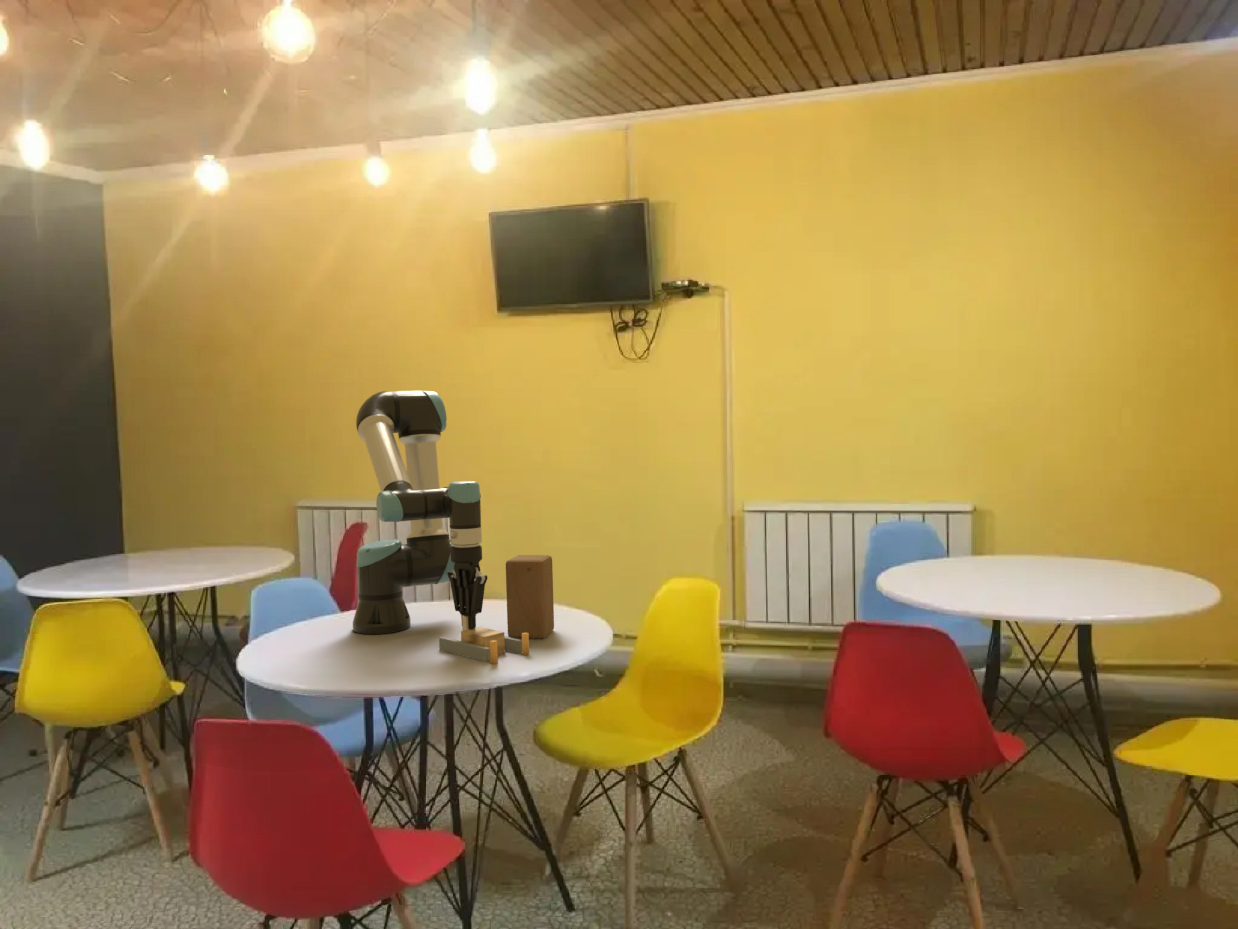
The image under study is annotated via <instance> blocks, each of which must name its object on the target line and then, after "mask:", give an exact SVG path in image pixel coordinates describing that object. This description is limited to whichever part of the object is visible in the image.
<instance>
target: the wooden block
mask: <svg viewBox="0 0 1238 929" xmlns="http://www.w3.org/2000/svg"><path fill="white" fill-rule="evenodd" d="M553 570H554V569H553V557H552V556H551V555H549V554H547V555H545V554H536V555H535V554H517V555H516V556H514V557H512V558H510V559H507V560H506V562H505V584H506V586H505V587H506V617H507V618H506V619H507V622H506V624H507V637H511V638H515V639H522V633H529V639H540V640H541V639H544V638H547V636H548V635H549V634H550V633H552V632H553V631H554V629H555V617H554V616H555V612H554V611H555V609H554V578H553V577H554V575H553V574H554V573H553Z"/></svg>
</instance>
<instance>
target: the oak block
mask: <svg viewBox="0 0 1238 929" xmlns="http://www.w3.org/2000/svg"><path fill="white" fill-rule="evenodd" d="M504 636H505V631H500V630H497V629H496V630H495V629H491V628H486V627H482V626H479V627H476V628H474V629H469V630H465V631H463V630H462V631H460V641H463V642H467V643H471V644H475V645H479V646H484V647H488V648H490V641H494V640H495V641H497V656H498V655H501V654H505V653H506V650H505V638H504Z"/></svg>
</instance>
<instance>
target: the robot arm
mask: <svg viewBox="0 0 1238 929" xmlns="http://www.w3.org/2000/svg"><path fill="white" fill-rule="evenodd" d="M355 425H356V431H357V434H358V436H359V438H360V439H361V441H363V442H364V443H365V446H366V449H367V452H368V454H369V459H370V461H371V465H372V467H373V470H374V474H375V476H376V480H377V483H378V485H379V488H380V492H378V494H377V496H376V505H375V508H376V510H377V511H376V513H377V516H378V519H379V520H380V521H382V522H384V523H388V522H389V523H391V522H392V523H399V522H408V521H410V529H411V530H410V532H409V534H408V535H406V544H405V543H403V544H402V541H401V540H400V539H395V538H393V539H384V540H379V541H378V540H377V541H373V542H370V543H367V544H365V545H362V546H361V547H360V548H358V550H357V554H356V567H357V590H358V591H357V594H358V602H357V606H356V609H355V613H354V616H353V620H352V631H353V632H354V633H356V634H357V633H358V634H362V635H363V634H365V635H381V634H391V633H396V632H397V633H398V632H402V631H404V630H407V629H410V627H411V625H412V624H411V615H410V613H409V611H408V608H407V606H406V603H405V600H404V593H403V590H404V588H407V587H417V586H418V587H419V586H427V585H429V586H430V585H438V584H441V583H442V584H444V583H448V582H449V583H450V589H451V594H452V599H453V605H454V611H455V612H459V615H460V617H461V628H462V631H465V630H469V629H474V628H477V620H476V619H477V618H476V617H477V614H480V613H482V611H483V604H484V597H485V596H484V595H485V586H486V583H487V581H488V575H487V574H483V573H482V572H481V566H480V562H481V561H482V560H483V546H482V545H481V544H482V542H483V539H482V517H481V514H482V513H481V512H482V509H481V506H482V505H481V499H482V498H481V497H482V496H481V488H480V484H479V482H478V481H476V480H461V481H452V482H449V484H448V486H443V487H440V476H439V465H438V464H439V463H438V453H437V442H439V441H440V439H441V437H442V432H445V430H446V429H447V411H446V407H445V403H444V401H443V399H442V397H441V396H440V394H439V393H437V392H436V391H434V390H433V391H432V390H423V389H421V390H392V391H391V390H383V391H378V392H376V393H374V394H372V395H371V396H369V397H368V398H367V399H366V400H365V401H364V402H363V403H362V405H361V406H360V408H359V409H358V411H357V414H356V421H355ZM394 434H397V436H398V441H399V442H401V444H403V445H404V451H405V452H404V453H405V463H406V464H405V463H404V461H403V458H402V454H401V452H400V449H399V447H398V444H397V441H396V438H395V435H394ZM443 519H449V531H450V532H448V531H447V530H446V529H445V528H444V526H443Z"/></svg>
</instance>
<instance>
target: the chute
mask: <svg viewBox="0 0 1238 929" xmlns="http://www.w3.org/2000/svg"><path fill="white" fill-rule="evenodd" d="M504 638H505V652H506V651H507V652H512V653H515V654H522V655H523V656H528V655H530V638H529V633H522V638H521V639H520V638H511V637H509V636H505V635H504ZM438 642H439V650H440V651H442V652H447V653H450V654H453V655H454V654H455V655H459V656H463V657H464V658H465V657H466V658H470V659H474V660H477V661H481V662H485V663H489V662H490V664H491V665H495V664H498V663H499V662H498V655H497V641H495V640H494V641H490V648H488V647H484V646H479V645H475V644H471V643H467V642H463V641H461V640H458V639H454V638H450V637H445V636H441V637H439V638H438Z"/></svg>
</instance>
